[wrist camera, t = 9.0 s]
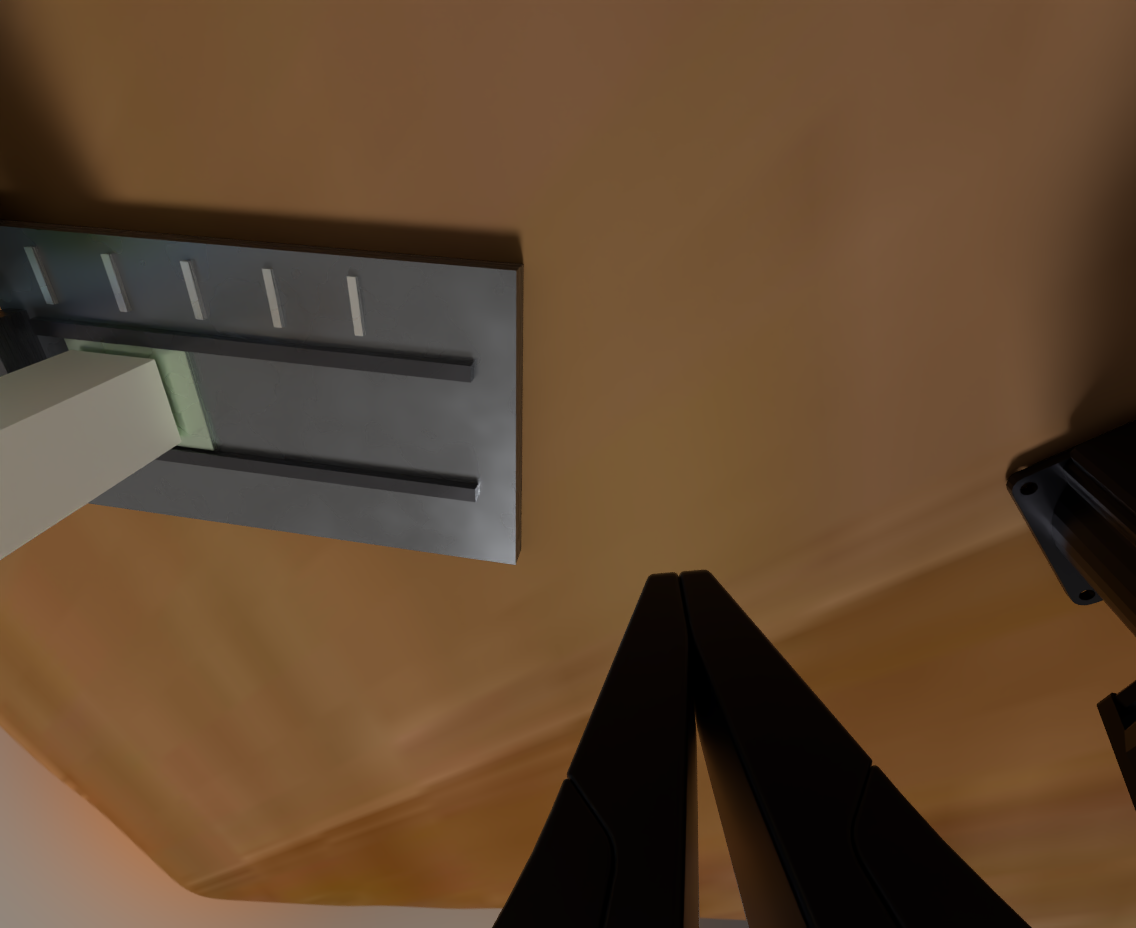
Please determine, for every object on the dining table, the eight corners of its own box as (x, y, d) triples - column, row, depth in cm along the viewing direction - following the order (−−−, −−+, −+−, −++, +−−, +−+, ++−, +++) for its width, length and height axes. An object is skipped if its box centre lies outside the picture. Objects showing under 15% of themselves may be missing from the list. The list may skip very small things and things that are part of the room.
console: (523, 264, 19) (503, 282, 17) (521, 549, 26) (506, 590, 23) (-9, 218, 22) (-88, 229, 19) (106, 491, 28) (56, 523, 26)
